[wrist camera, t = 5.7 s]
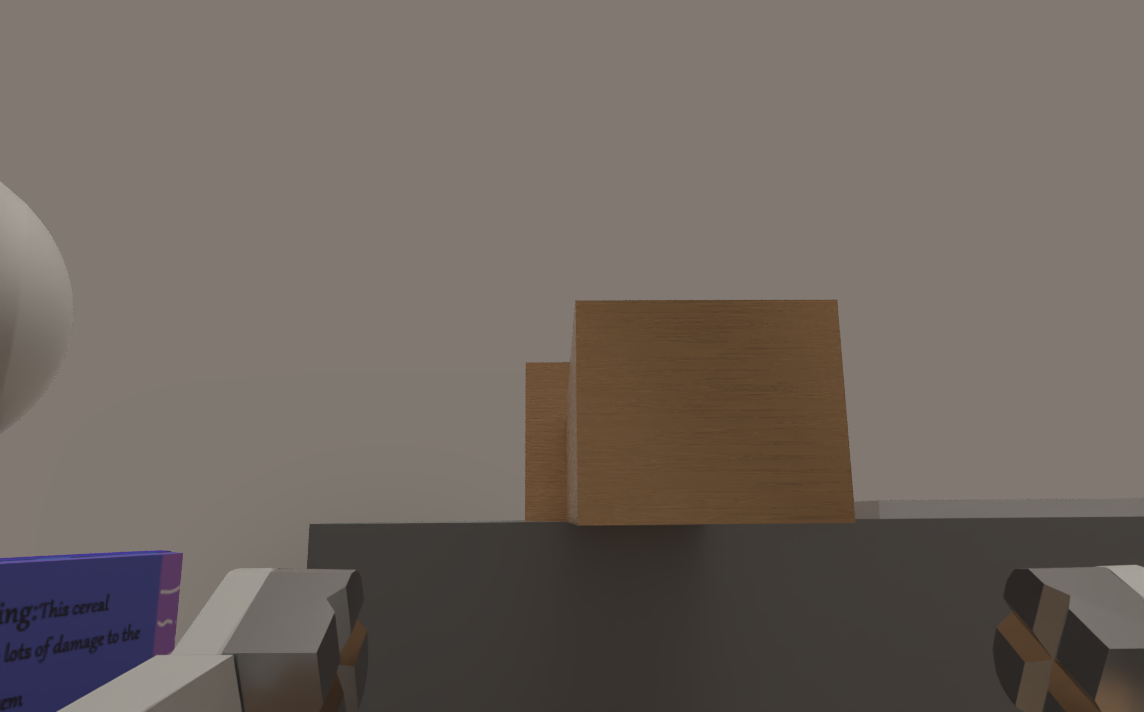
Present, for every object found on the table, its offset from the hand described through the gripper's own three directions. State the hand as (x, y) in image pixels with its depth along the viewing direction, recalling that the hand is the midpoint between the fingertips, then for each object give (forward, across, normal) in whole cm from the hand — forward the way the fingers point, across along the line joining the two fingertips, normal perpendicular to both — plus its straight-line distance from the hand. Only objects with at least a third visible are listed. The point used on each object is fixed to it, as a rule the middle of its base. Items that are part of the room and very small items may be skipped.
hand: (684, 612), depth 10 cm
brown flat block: (+6, 0, +3) cm, 7 cm away
